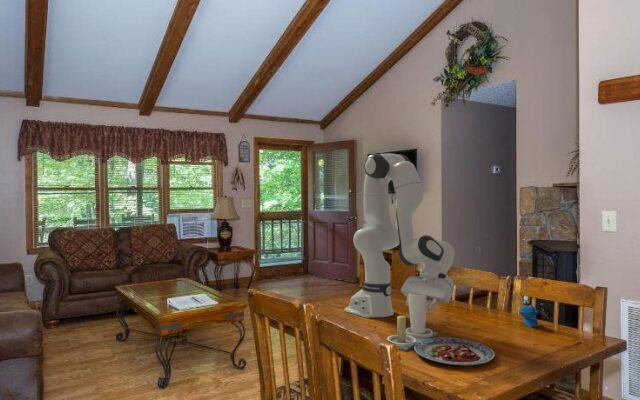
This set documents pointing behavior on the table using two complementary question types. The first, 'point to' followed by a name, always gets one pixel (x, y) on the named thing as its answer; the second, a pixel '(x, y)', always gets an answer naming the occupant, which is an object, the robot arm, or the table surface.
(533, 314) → the blue lumpy upright piece
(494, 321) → the table surface
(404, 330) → the candle holder dish
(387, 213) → the robot arm
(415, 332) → the drinking glass
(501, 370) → the table surface
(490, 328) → the table surface
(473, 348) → the ceramic plate
